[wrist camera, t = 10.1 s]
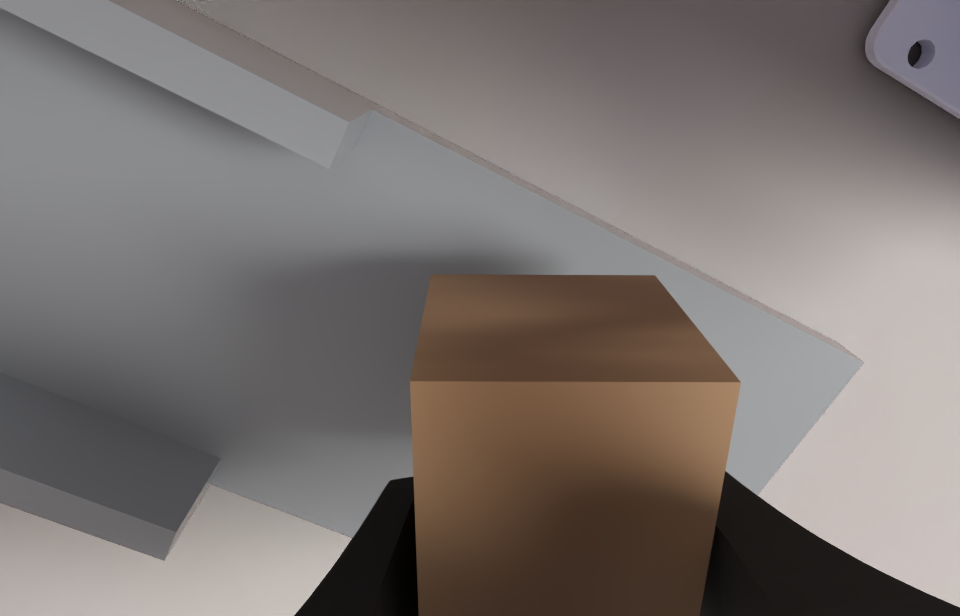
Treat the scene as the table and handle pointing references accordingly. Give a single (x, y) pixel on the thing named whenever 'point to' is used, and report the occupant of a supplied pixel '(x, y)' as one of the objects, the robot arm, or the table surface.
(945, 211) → the table surface
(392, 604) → the robot arm
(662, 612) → the walnut block
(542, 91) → the table surface
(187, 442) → the trap channel
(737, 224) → the table surface
